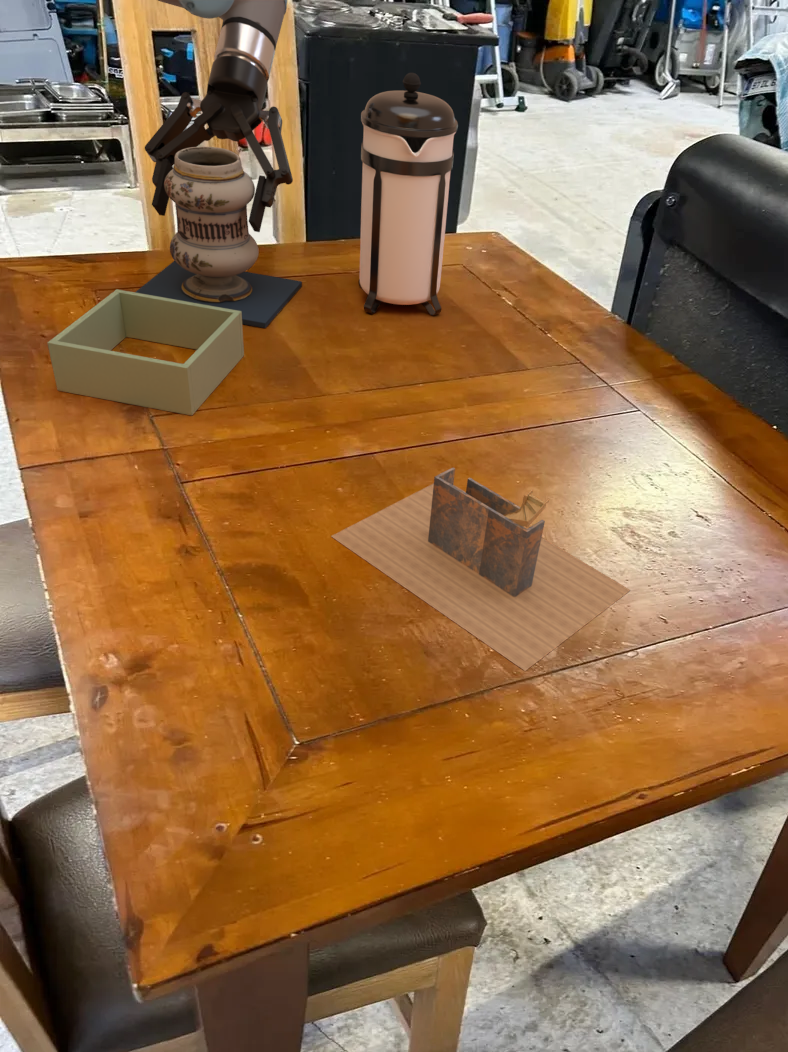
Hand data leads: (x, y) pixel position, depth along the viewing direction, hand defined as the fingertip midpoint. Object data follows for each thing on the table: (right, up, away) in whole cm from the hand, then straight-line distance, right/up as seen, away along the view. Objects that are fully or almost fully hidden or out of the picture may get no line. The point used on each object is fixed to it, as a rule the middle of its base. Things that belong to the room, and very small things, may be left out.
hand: (205, 218), depth 120 cm
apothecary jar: (-1, -7, +8) cm, 11 cm away
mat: (-1, -7, +9) cm, 11 cm away
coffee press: (+25, -6, +14) cm, 29 cm away
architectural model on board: (+36, -48, -33) cm, 68 cm away
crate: (-3, -23, -10) cm, 26 cm away
